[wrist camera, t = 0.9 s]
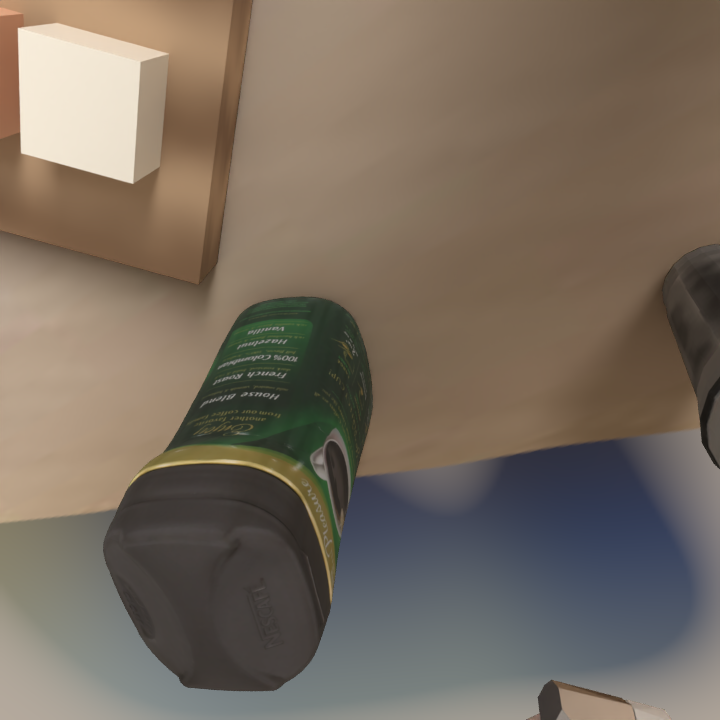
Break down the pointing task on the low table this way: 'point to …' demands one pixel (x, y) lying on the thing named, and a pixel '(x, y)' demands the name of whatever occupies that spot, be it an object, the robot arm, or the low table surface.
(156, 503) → the coffee jar
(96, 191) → the board
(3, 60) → the tile
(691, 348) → the beverage cup
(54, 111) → the tile
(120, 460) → the low table surface
